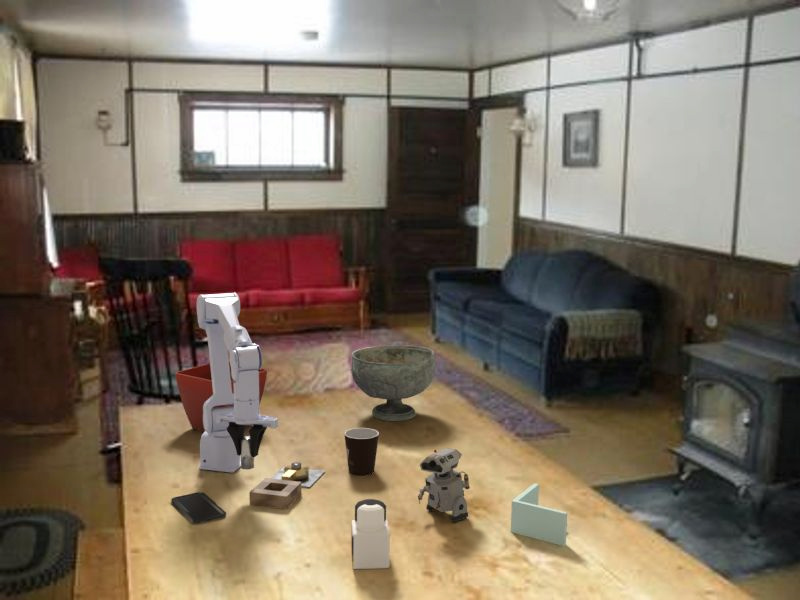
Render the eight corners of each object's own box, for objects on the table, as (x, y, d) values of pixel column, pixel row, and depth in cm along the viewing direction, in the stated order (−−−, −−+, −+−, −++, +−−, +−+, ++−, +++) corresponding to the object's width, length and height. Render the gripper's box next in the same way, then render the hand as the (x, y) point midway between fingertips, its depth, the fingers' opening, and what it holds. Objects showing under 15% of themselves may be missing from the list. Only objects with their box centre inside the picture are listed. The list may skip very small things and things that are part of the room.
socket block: (249, 504, 194) (249, 492, 194) (265, 489, 203) (265, 477, 202) (286, 509, 192) (286, 496, 191) (301, 494, 200) (301, 481, 200)
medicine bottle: (351, 552, 171) (351, 496, 169) (387, 552, 172) (387, 495, 170) (352, 570, 164) (352, 510, 162) (389, 568, 165) (390, 509, 163)
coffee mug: (374, 479, 210) (374, 440, 209) (340, 476, 212) (340, 437, 210) (384, 462, 222) (384, 425, 220) (352, 460, 223) (352, 423, 222)
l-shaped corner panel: (564, 548, 176) (565, 513, 174) (510, 534, 182) (511, 500, 181) (584, 527, 186) (586, 494, 184) (533, 515, 192) (534, 483, 191)
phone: (202, 491, 199) (227, 513, 187) (202, 496, 200) (227, 518, 187) (169, 498, 195) (192, 521, 183) (169, 502, 195) (192, 526, 183)
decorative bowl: (436, 427, 249) (436, 360, 246) (348, 428, 249) (347, 360, 247) (434, 405, 275) (434, 344, 273) (354, 405, 276) (353, 344, 273)
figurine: (407, 517, 188) (408, 452, 186) (444, 504, 196) (445, 441, 193) (436, 531, 181) (437, 463, 179) (473, 516, 189) (475, 451, 187)
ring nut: (273, 484, 205) (273, 472, 204) (289, 469, 214) (289, 458, 214) (297, 486, 203) (297, 475, 203) (312, 472, 213) (312, 461, 212)
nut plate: (266, 483, 207) (266, 481, 207) (284, 467, 217) (284, 466, 217) (309, 488, 204) (309, 486, 204) (325, 471, 215) (325, 470, 215)
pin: (238, 468, 197) (238, 439, 196) (244, 464, 200) (243, 435, 199) (250, 469, 197) (250, 440, 195) (256, 465, 199) (255, 436, 198)
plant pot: (269, 424, 252) (269, 368, 249) (223, 442, 236) (222, 382, 233) (222, 413, 262) (220, 359, 259) (174, 429, 246) (173, 372, 243)
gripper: (209, 400, 194) (210, 457, 196) (268, 405, 190) (269, 463, 192) (223, 392, 201) (225, 447, 203) (281, 397, 197) (282, 453, 199)
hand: (247, 454), depth 198 cm, fingers closed on pin, 3 cm apart
